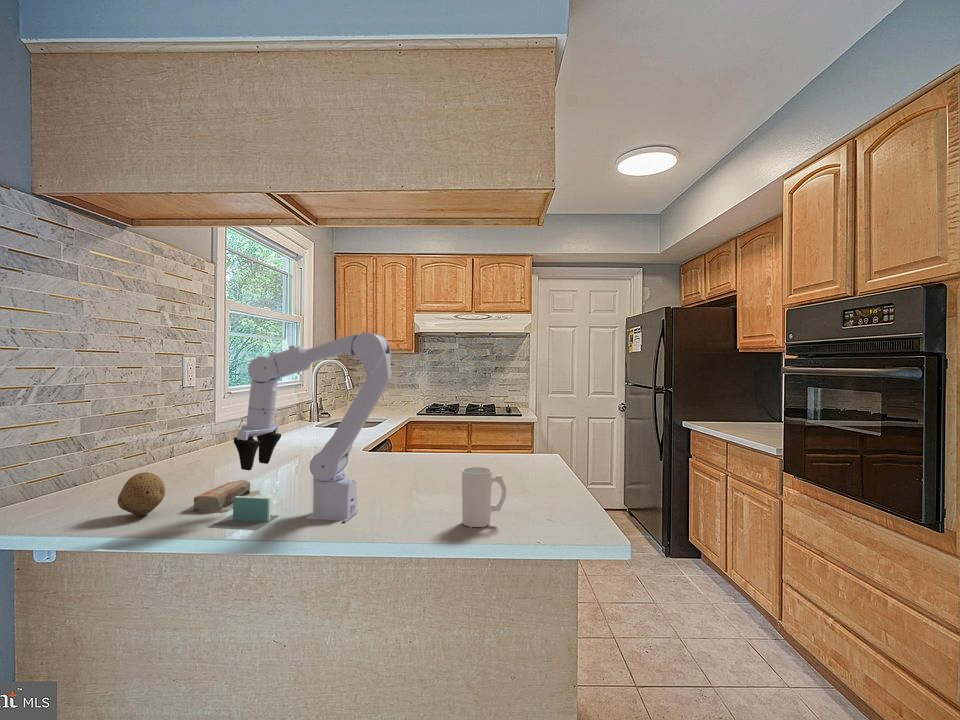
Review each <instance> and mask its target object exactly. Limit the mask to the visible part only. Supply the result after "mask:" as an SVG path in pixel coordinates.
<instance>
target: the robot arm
mask: <svg viewBox="0 0 960 720" xmlns="http://www.w3.org/2000/svg"><path fill="white" fill-rule="evenodd" d="M288 348H289V349H286V350H282V351H279V352H276V351H274V352H273V351H272V352H269V356H268V357H267V356H263V355H262V356H261V355H259V356H257V357H256V358H254V359H251V361H250V363H249V364H248V366H247V367H248V368H247V371H248V375H249V377H250V378H251V383H250V389H249V398H248V399H249V400H248V408H247V417H246V424H243V425H241V429H239V430H237V436H236V437H234V438H233V443H234V445H235V448H236V450H237V453H238V457H239V462H240V464H239V465H240V468H241V471H242V470H243V471H252V468H253V466H254V462H255V457H256V454H257V451H258V463H259V464H266V465H268V464H269V463H270V461H271V458H272V456H273V453H274V449H275V448H276V445H277V444H278V442H279V441H280V439H281V438H282V433H279V428H280V424H279V423H275V422H274V419H275V412H276V402H277V401H276V400H277V393H278V383H279V382H278V381H279V380H280V378H284V377H288V376H290V375H294V374H298V373H301V372H304V371H307V370H309V369H310V368H311V365H312V364H313V363H314V362H318V361H321V360H325V359H330V358H332V357H336V356H339V355H343V354H345V355H350V356H355V357H356V358H357V359H358V361H360V363H361V365H362V366H363V369H364V372H365V375H366V378H365V381H364V382H363V383H362V385H361V387H360V389H359V391H358V392H357V394H356V396H355V397H354V399H353V401H352V403H351V404H350V405H349V408H348V410H347V411H346V413H345V414H344V416H343V418H342V420H341V421H340V422H339V424H338V427H337V428H336V429H335V432H334V433H333V435H332V436H331V437H330V439H329V440H328V441H327V442H326V443H325V444H324V446H323V448H322V449H321V451H319V452H317V453H316V454H315V455H314V456H313V457H311V460H310V462H309V470H310V473H311V474H312V477H313V479H312V481H313V482H312V513H311V514H310V515H308V516H306V517H305V519H309V520H327V521H328V520H330V521H332V520H334V521H342V523H344V522H347V521H348V520H350V519H351V518H352V517H353V516H354V515H356V514H357V513H358V509H357V503H358V502H357V501H358V500H357V499H358V497H357V495H358V494H357V491H358V490H357V487H358V486H357V482H356V480H355V479H354V478H348V477H346V472H345V468H346V467H347V466H348V463H349V455H350V453H351V451H352V448H353V444H354V442H355V441H356V439H357V438H358V435H360V432H361V430H362V429H363V427H364V425H365V424H366V422H367V420H368V419H369V417H370V415H371V414H372V411H373V410H374V408H375V407H376V405H377V403H378V401H379V400H380V398H381V397H382V395H383V393H384V391H385V390H386V388H387V386H388V385H389V383H390V380H391V379H392V371H391V369H392V365H391V363H392V362H391V357H392V349H391V348H390V345H389V342H388V340H387V339H386V337H385V336H383V335H381V334H378V333H372V332H369V331H367V332H362V333H360V334H351V335H346V336H342V337H340V338H337V339H333V340H331V341H328V342H325V343H322V344H320V345H316V346H314V347H310V348H309V349H308V348H305V347H303V346H301V345H299V346H297V345H296V344H294V345H293V344H292V345H289V347H288ZM255 437H256V438H257V439H256V440H255Z"/></svg>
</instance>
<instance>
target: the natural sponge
mask: <svg viewBox="0 0 960 720" xmlns="http://www.w3.org/2000/svg"><path fill="white" fill-rule="evenodd" d="M165 496H166V486H165V483H164V482H163V480H162V479H161V478H160V477H159V476H158V475H156V474H154V473H153V472H148V471H145V472H139V473H136V474H134V475H133V476H131V477H129V479H128V480H127V481H125V483H124V485H123V487H122V489H121V491H120V493H119V494H118V497H117V505H118V507H119V508H120V509H121V510H122V511H125V512H128V513H130V514H132V515H134V516H139V517H143V516H146V515H148V514H150V513H151V512H152V511H153V510H155V508H156V507H158V506H159V504H161V503H162V501H163V499H164V498H165Z"/></svg>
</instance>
